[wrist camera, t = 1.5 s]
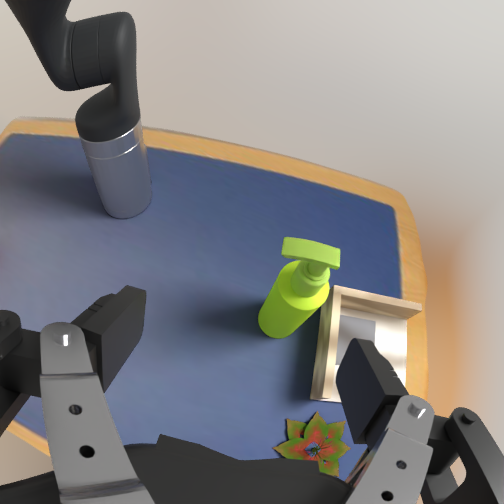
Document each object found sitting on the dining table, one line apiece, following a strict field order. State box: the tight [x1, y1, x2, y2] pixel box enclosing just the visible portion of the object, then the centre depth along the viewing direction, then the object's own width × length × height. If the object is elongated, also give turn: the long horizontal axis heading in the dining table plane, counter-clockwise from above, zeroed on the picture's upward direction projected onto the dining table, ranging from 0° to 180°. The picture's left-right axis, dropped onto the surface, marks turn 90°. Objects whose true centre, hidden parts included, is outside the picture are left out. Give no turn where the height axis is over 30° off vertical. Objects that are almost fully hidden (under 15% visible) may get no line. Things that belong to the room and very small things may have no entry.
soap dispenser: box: [258, 237, 340, 339], centre depth 35 cm, size 6×7×20 cm
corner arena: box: [310, 285, 422, 402], centre depth 41 cm, size 16×16×5 cm
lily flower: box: [273, 411, 351, 477], centre depth 33 cm, size 12×12×5 cm
